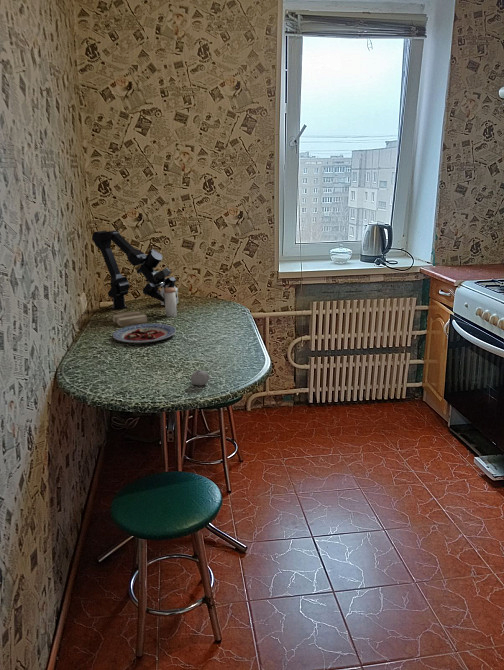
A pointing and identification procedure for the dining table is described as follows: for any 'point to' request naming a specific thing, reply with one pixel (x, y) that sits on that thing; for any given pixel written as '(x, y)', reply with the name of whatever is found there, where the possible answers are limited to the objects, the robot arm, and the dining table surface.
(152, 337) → the ceramic plate
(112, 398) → the dining table surface
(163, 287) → the container
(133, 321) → the base block
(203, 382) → the garlic
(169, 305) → the jar
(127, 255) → the robot arm
